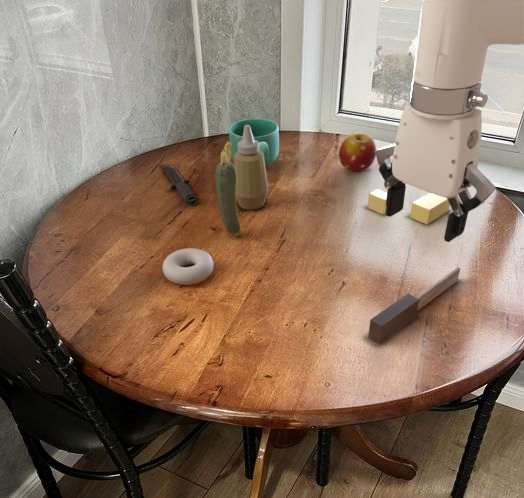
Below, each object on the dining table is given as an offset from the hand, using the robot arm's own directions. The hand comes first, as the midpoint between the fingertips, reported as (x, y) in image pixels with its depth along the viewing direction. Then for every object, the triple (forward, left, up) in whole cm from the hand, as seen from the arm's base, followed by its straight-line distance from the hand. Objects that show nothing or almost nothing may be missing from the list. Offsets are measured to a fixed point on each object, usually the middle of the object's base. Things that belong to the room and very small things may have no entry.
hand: (422, 224), depth 75 cm
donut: (+41, +14, -22) cm, 48 cm away
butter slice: (+30, -32, -22) cm, 49 cm away
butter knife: (+3, -8, -22) cm, 23 cm away
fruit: (+48, -44, -22) cm, 69 cm away
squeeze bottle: (+53, -13, -22) cm, 59 cm away
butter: (+21, -37, -22) cm, 48 cm away
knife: (+74, -7, -22) cm, 77 cm away
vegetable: (+46, -1, -22) cm, 51 cm away
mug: (+67, -27, -22) cm, 76 cm away
